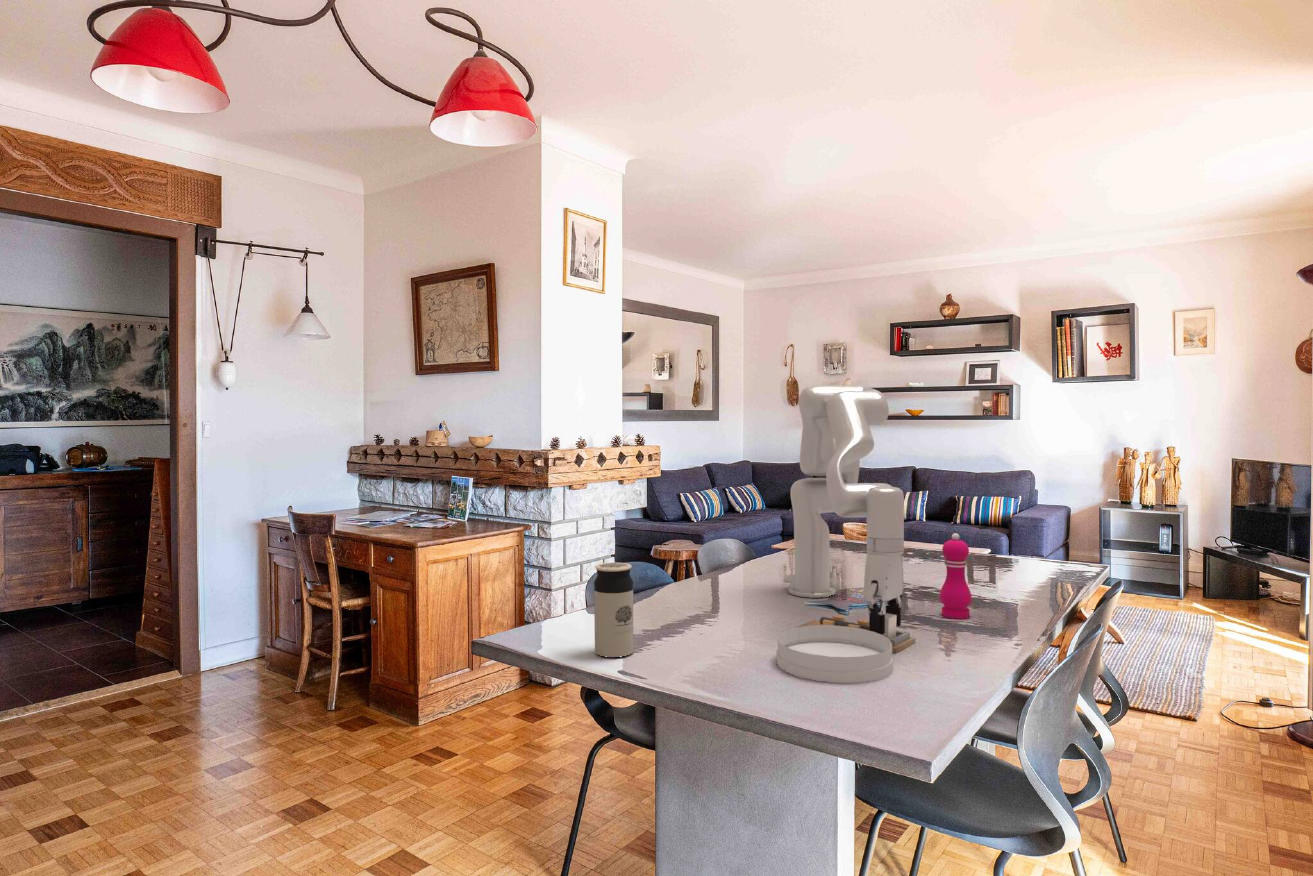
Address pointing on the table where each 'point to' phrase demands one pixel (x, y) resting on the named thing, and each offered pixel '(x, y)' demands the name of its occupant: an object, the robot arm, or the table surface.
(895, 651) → the board
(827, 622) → the clip
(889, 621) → the connector
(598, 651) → the travel mug
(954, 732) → the table surface
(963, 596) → the pepper mill
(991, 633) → the table surface
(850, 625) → the clip
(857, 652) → the dish
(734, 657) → the table surface
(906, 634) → the end holder
